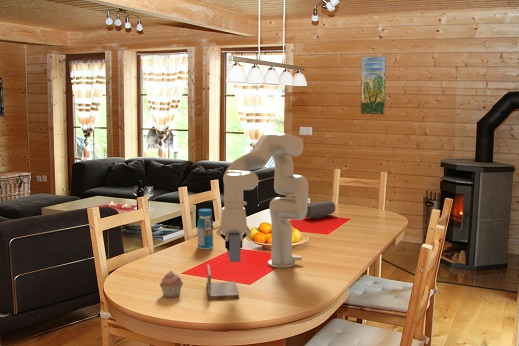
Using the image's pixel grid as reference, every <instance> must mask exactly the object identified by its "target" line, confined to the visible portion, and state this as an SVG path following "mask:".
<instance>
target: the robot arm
mask: <svg viewBox="0 0 519 346" xmlns="http://www.w3.org/2000/svg"><path fill="white" fill-rule="evenodd" d="M303 150H304V141H303V140H302V138H300V137H299V136H296V135H292V134H290V133H284V132H283V133H282V132H281V133H280V132H266V133H264V134H262V135H261V136H260V138H259V139H258V140H257V142H256V143H255V144H254V146H253V148H252V149H251V150H250V152H248V153H246V154H243V155H242V156H240V157H238V158H236V159H234V161H232V162H231V163H230V164H229V166H228V167H227V169H226V170H225V172H224V174H223V177H222V179H223V180H222V181H223V200H224V201H223V207H222V208H221V213H220V225H219V227H218V228H217V230H216V235H218V236H219V237H221V238H222V240H224V248H225V249H226V252H227V251H229V239H228V237H229V234H234V233H239V235H240V237H241V249H243V241H244V239H246V237H247V236H249V235H250V234H251V233H252V231H251V229H250V228H249V226H248V223H247V214H246V213H247V212H246V207H244V206H247V205H248V202H247V201H244V191H252V190H254V189H256V187H257V186H258V185H259V177H258V175H257V173H255V172H253V171H254V170H257V169H260V168H264V167H265V166H267V164H268V162H269V161H270V159H271V157H272V160H273V162H274V179H273V180H274V181H273V189H274V192H275V193H276V194H279V195H284V196H294V197H295V198H290V197H282V196H281V197H280V196H279V197H274V198H273V199H271V200H270V202H269V213H270V218H271V219H270V220H271V241H270V242H271V245H270V246H271V247H270V249H271V255H270V257H271V258H270V259H269V260H268V261H267V265H268V266H270V267H272V268H276V269H277V268H278V269H280V268H281V269H285V268H291V267H294V266H296V265H295V264H296V261H302V260H303V258H302V256H299V255H293V226H292V223H291V221H290V220H292V221H293V220H296V221H303V220H304V219H305V218H306V214H307V205H308V204H309V203H308V202H309V181H308V179H307V178H306V176H304V175H301V174H294V162H293V160H292V157H298V156H300V155H301V154H302V153H303V152H304V151H303Z"/></svg>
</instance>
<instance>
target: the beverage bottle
mask: <svg viewBox="0 0 519 346" xmlns="http://www.w3.org/2000/svg"><path fill="white" fill-rule="evenodd" d="M212 211H213V210H212V209H211V208H200V209H198V216H199V218H198V219H197V222H196V223H197V224H196V225H197V226H196V230H197V248H198V249H200V250H210V249H213V248H214V225H213V224H214V220H213V218H212V215H213V212H212Z"/></svg>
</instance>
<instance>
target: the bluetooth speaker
mask: <svg viewBox="0 0 519 346" xmlns="http://www.w3.org/2000/svg"><path fill="white" fill-rule="evenodd" d="M335 211H336V205H335V203H334V201H332V200H326V201H325V200H323V201H317V202H311V203H308V205H307V214H306V217H305V218H306V219H315V220H316V219H320V218H321V219H322V218H326V216H328V215H331V214H333V213H335Z"/></svg>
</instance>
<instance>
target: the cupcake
mask: <svg viewBox="0 0 519 346" xmlns="http://www.w3.org/2000/svg"><path fill="white" fill-rule="evenodd" d="M183 284H184V282H182V278H181V277H180V276H179V275H178V274H176V273H174V272H173V270H170V271H168V272H167V273H166V274H165V275H164V276H163V277H162V279H161V282H160V283H159V287H160V288H161V291H162V295H163V296H164V297H165V298H169V299H170V298H171V299H173V298H174V299H175V298H177V297H179V296H180V294H181V292H182V291H181V290H182V287H183Z"/></svg>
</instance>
